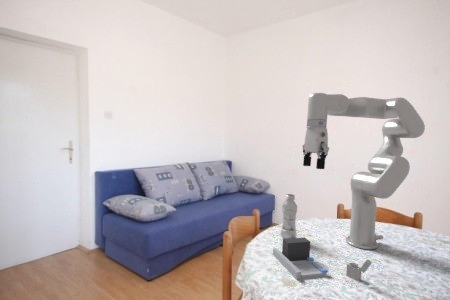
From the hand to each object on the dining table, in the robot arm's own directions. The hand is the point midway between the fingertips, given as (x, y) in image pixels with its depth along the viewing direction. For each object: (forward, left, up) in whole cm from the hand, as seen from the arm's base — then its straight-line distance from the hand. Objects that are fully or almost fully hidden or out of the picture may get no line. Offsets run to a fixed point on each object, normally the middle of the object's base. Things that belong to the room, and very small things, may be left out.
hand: (313, 167), depth 107 cm
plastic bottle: (+3, -12, -34) cm, 36 cm away
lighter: (-3, +25, -34) cm, 42 cm away
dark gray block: (+10, +8, -33) cm, 36 cm away
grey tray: (+11, +12, -34) cm, 38 cm away
